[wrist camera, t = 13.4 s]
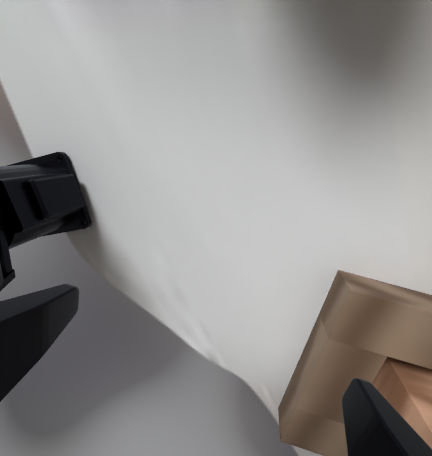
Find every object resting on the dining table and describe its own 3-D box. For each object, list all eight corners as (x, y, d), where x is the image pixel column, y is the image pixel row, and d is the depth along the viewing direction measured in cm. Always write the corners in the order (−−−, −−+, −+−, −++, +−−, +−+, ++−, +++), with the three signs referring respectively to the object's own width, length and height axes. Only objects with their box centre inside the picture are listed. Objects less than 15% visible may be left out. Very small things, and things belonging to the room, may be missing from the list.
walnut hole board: (278, 408, 25) (280, 440, 23) (338, 270, 20) (350, 290, 17) (445, 462, 24) (470, 504, 21) (558, 329, 19) (611, 362, 16)
